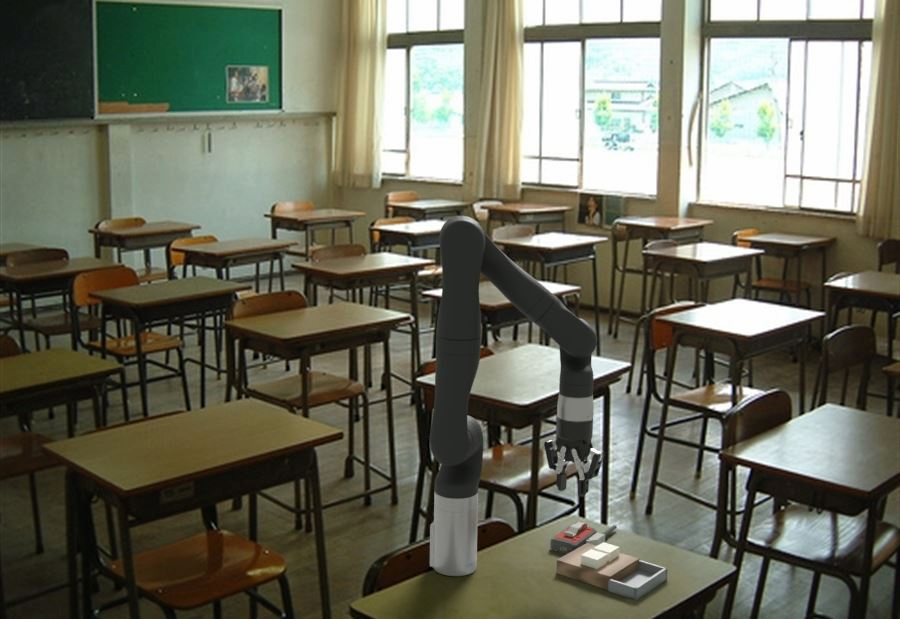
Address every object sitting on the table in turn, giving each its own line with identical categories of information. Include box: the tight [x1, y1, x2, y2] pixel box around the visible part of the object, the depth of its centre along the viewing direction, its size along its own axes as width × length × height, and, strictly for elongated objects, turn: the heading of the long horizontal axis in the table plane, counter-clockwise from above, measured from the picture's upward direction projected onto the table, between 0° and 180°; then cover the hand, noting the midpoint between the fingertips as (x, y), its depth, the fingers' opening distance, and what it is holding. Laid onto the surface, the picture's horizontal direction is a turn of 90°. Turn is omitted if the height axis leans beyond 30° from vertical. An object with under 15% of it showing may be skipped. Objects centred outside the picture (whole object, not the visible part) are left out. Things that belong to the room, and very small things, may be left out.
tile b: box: [594, 542, 620, 562], centre depth 242 cm, size 4×4×2 cm
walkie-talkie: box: [549, 521, 617, 554], centre depth 258 cm, size 9×4×20 cm
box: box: [607, 559, 668, 601], centre depth 235 cm, size 6×13×2 cm, turn 141°
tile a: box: [581, 549, 607, 569], centre depth 238 cm, size 4×4×2 cm
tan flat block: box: [556, 543, 640, 591], centre depth 241 cm, size 13×12×3 cm
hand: (572, 492), depth 240 cm, fingers open, 4 cm apart
